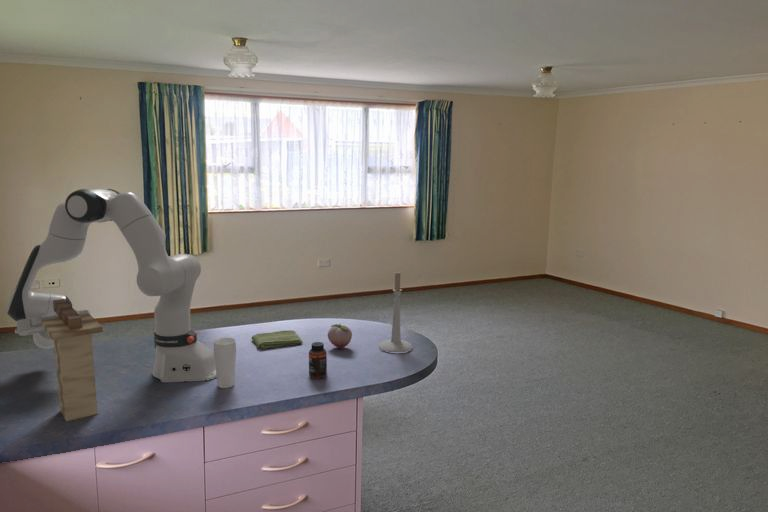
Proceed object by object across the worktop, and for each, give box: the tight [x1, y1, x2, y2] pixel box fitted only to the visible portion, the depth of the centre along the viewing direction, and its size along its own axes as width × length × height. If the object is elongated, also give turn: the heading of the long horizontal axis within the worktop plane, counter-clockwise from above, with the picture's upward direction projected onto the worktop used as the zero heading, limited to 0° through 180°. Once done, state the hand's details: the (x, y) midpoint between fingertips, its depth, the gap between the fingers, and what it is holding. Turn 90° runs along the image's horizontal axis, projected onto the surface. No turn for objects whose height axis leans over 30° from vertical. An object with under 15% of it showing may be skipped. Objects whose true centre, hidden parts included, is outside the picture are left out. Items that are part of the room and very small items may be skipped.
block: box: [53, 299, 82, 330], centre depth 165 cm, size 22×3×3 cm, turn 39°
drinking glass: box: [213, 337, 237, 389], centre depth 185 cm, size 7×7×15 cm
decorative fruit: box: [327, 323, 353, 349], centre depth 221 cm, size 9×8×10 cm
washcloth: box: [251, 330, 303, 350], centre depth 227 cm, size 13×18×3 cm
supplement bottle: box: [308, 341, 328, 380], centre depth 195 cm, size 6×6×11 cm
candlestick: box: [378, 271, 413, 352], centre depth 221 cm, size 13×13×30 cm
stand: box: [41, 313, 104, 423], centre depth 164 cm, size 16×12×26 cm
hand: (57, 315), depth 178 cm, fingers open, 8 cm apart
